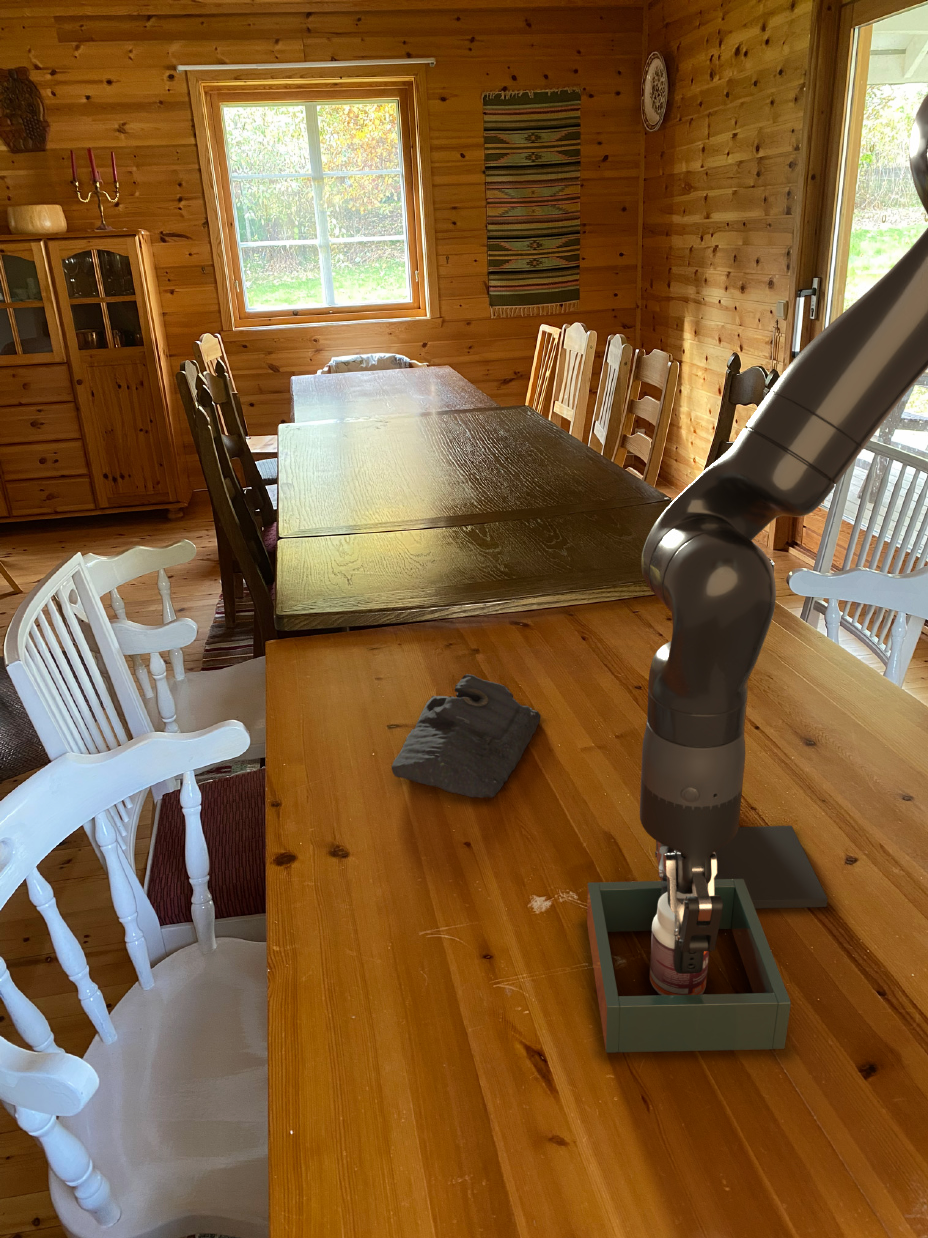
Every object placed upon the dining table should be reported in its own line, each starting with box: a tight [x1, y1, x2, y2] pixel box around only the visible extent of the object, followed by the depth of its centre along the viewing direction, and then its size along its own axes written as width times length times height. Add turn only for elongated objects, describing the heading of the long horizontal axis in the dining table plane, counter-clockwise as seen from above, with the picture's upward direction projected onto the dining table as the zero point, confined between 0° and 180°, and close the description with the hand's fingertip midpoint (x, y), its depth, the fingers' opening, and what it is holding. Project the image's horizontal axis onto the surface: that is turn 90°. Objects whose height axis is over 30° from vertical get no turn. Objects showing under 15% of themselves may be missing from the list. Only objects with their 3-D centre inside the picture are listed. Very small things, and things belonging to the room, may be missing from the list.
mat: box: [714, 825, 829, 910], centre depth 90 cm, size 11×11×1 cm
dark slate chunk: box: [391, 673, 541, 799], centre depth 112 cm, size 15×22×5 cm
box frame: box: [586, 879, 792, 1054], centre depth 77 cm, size 14×14×5 cm
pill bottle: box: [649, 892, 710, 995], centre depth 77 cm, size 5×5×8 cm
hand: (680, 942), depth 76 cm, fingers open, 5 cm apart
